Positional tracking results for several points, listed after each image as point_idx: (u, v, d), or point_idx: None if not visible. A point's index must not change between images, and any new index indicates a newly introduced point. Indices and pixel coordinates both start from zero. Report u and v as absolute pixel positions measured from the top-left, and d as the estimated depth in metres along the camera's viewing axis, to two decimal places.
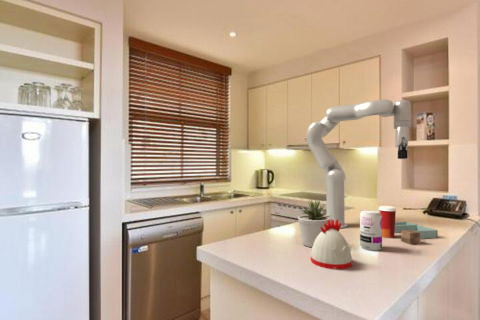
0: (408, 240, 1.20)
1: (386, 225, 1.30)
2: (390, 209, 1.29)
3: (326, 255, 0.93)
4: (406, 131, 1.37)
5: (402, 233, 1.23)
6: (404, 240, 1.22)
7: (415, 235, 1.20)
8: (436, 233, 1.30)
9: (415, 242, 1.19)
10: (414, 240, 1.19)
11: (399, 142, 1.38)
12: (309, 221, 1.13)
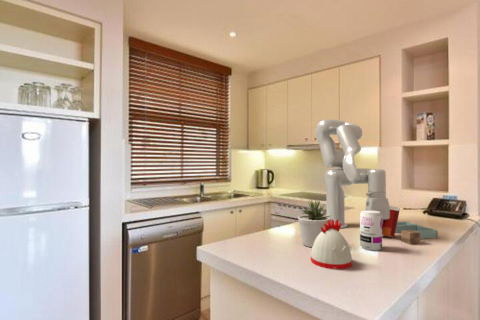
0: (408, 240, 1.20)
1: (388, 223, 1.30)
2: (394, 208, 1.29)
3: (326, 255, 0.93)
4: None
5: (402, 233, 1.23)
6: (404, 240, 1.22)
7: (415, 235, 1.20)
8: (436, 233, 1.30)
9: (415, 242, 1.19)
10: (414, 240, 1.19)
11: None
12: (309, 221, 1.13)
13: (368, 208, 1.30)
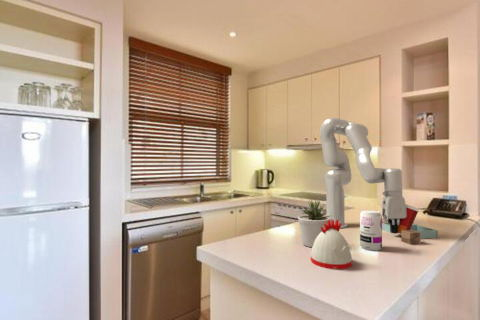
0: (408, 240, 1.20)
1: (405, 222, 1.31)
2: (414, 208, 1.30)
3: (326, 255, 0.93)
4: None
5: (402, 233, 1.23)
6: (404, 240, 1.22)
7: (415, 235, 1.20)
8: (436, 233, 1.30)
9: (415, 242, 1.19)
10: (414, 240, 1.19)
11: None
12: (309, 221, 1.13)
13: (385, 207, 1.31)
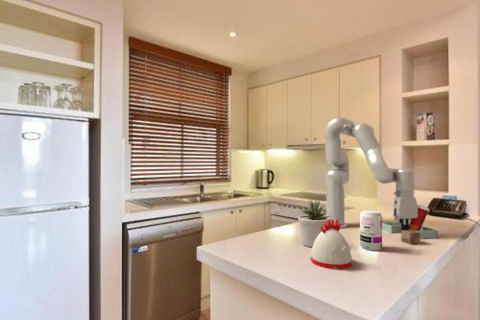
0: (408, 240, 1.20)
1: (416, 221, 1.32)
2: (425, 208, 1.32)
3: (326, 255, 0.93)
4: None
5: (402, 233, 1.23)
6: (404, 240, 1.22)
7: (415, 235, 1.20)
8: (436, 233, 1.30)
9: (415, 242, 1.19)
10: (414, 240, 1.19)
11: None
12: (309, 221, 1.13)
13: (396, 207, 1.32)
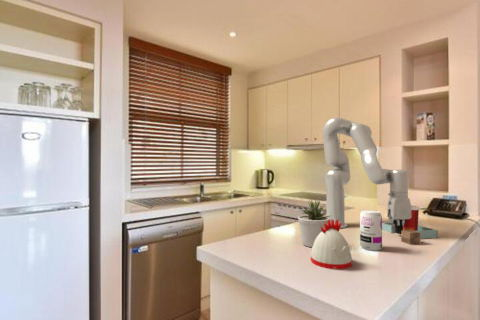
0: (408, 240, 1.20)
1: (411, 223, 1.32)
2: (414, 208, 1.32)
3: (326, 255, 0.93)
4: None
5: (402, 233, 1.23)
6: (404, 240, 1.22)
7: (415, 235, 1.20)
8: (436, 233, 1.30)
9: (415, 242, 1.19)
10: (414, 240, 1.19)
11: None
12: (309, 221, 1.13)
13: (390, 208, 1.32)
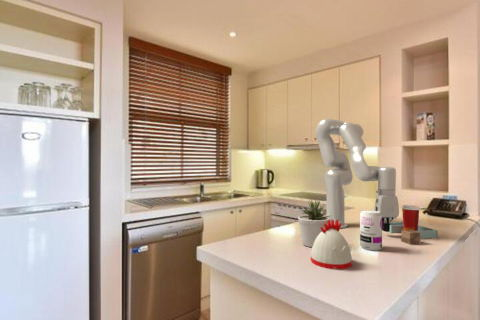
0: (408, 240, 1.20)
1: (411, 223, 1.32)
2: (415, 208, 1.32)
3: (326, 255, 0.93)
4: None
5: (402, 233, 1.23)
6: (404, 240, 1.22)
7: (415, 235, 1.20)
8: (436, 233, 1.30)
9: (415, 242, 1.19)
10: (414, 240, 1.19)
11: None
12: (309, 221, 1.13)
13: (377, 205, 1.31)
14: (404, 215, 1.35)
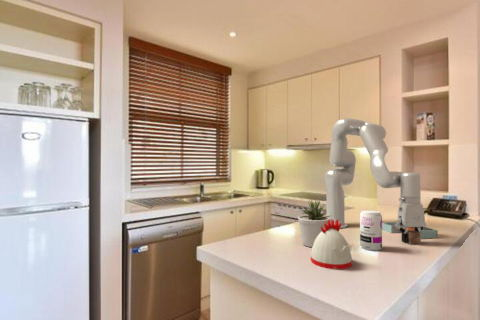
0: (408, 240, 1.20)
1: None
2: None
3: (326, 255, 0.93)
4: None
5: None
6: None
7: (416, 235, 1.19)
8: (436, 233, 1.30)
9: (415, 242, 1.19)
10: (414, 240, 1.19)
11: None
12: (309, 221, 1.13)
13: (401, 214, 1.20)
14: None
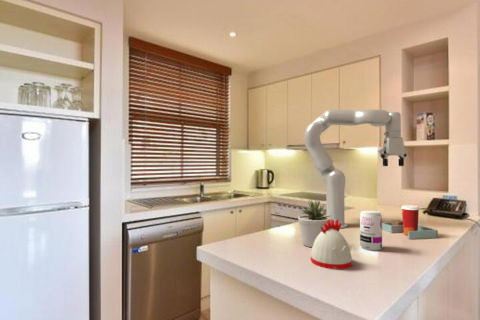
0: None
1: (410, 223, 1.32)
2: (414, 208, 1.32)
3: (326, 255, 0.93)
4: None
5: (392, 222, 1.45)
6: None
7: None
8: (436, 233, 1.30)
9: None
10: None
11: None
12: (309, 221, 1.13)
13: (385, 145, 1.51)
14: (403, 215, 1.35)
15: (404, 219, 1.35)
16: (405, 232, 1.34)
